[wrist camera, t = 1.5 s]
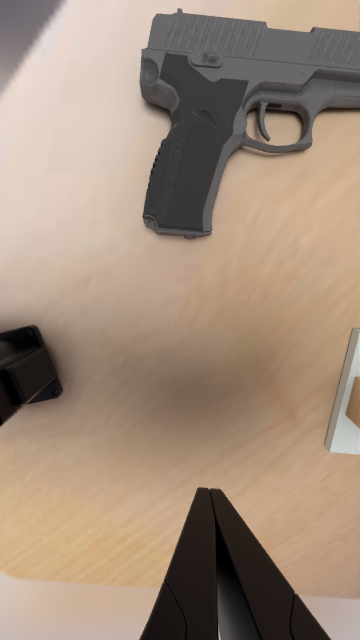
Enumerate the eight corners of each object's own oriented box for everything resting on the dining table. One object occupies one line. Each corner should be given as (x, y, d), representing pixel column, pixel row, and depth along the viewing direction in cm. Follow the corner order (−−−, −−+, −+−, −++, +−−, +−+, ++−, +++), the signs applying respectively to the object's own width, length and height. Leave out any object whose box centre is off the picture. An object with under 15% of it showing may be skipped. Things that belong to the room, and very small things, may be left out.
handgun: (384, 249, 16) (447, 15, 13) (136, 234, 15) (137, -21, 12) (349, 250, 19) (392, 62, 16) (142, 237, 18) (144, 37, 15)
